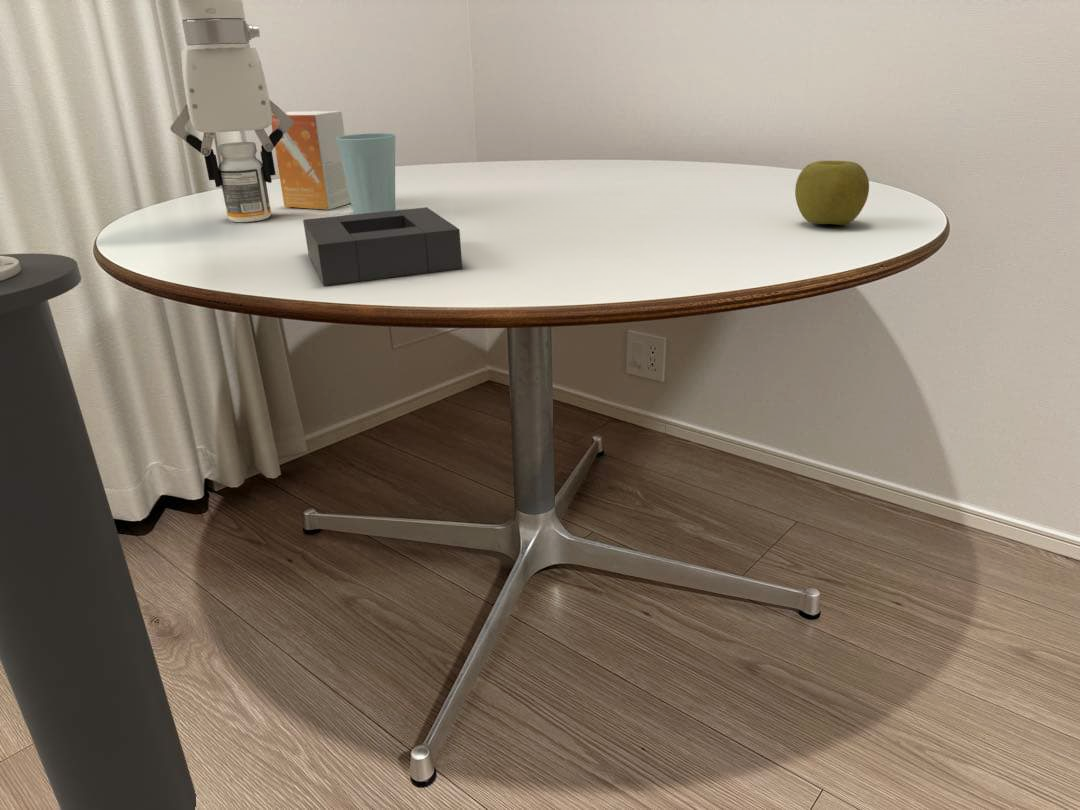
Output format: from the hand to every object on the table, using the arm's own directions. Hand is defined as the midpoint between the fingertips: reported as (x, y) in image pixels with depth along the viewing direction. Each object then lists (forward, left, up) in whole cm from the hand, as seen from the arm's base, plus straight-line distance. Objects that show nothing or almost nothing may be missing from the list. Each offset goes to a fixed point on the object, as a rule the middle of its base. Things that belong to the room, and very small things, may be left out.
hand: (243, 182), depth 107 cm
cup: (+16, -7, -5) cm, 18 cm away
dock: (+12, -34, -5) cm, 36 cm away
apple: (+63, -42, -5) cm, 76 cm away
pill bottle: (0, 0, -5) cm, 5 cm away
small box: (+10, +6, -5) cm, 13 cm away
